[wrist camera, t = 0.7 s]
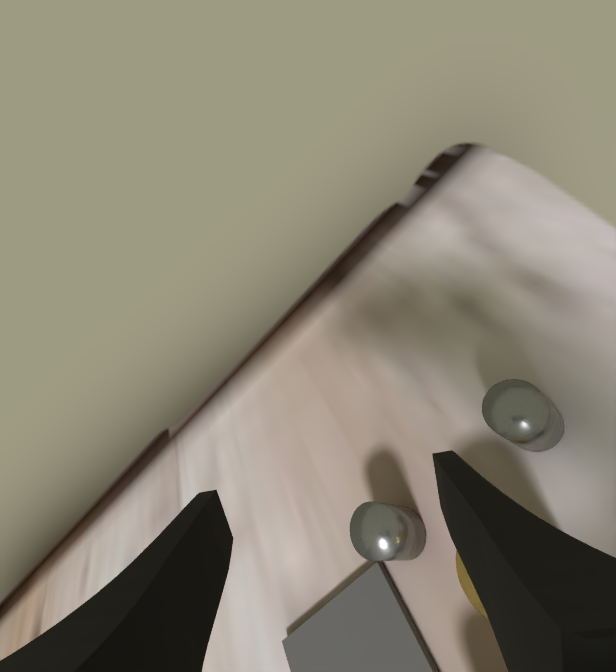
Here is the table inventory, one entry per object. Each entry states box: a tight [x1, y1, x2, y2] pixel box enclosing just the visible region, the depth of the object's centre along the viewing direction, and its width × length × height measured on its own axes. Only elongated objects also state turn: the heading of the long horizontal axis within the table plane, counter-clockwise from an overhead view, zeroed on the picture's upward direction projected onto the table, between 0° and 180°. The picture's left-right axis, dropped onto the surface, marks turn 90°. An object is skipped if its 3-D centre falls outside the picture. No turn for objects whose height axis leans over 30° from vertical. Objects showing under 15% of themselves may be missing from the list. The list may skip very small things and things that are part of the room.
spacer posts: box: [350, 379, 564, 561], centre depth 20 cm, size 14×14×4 cm
